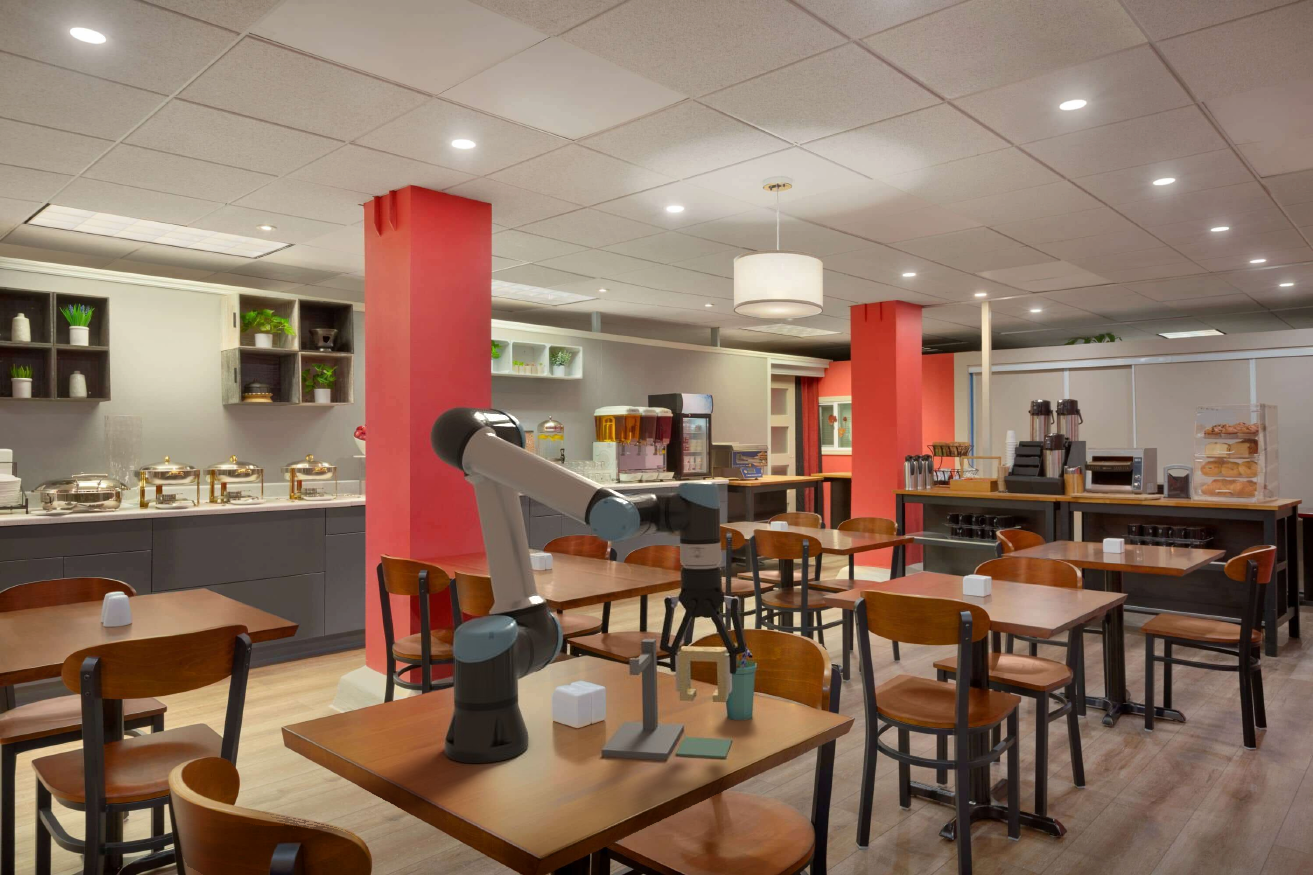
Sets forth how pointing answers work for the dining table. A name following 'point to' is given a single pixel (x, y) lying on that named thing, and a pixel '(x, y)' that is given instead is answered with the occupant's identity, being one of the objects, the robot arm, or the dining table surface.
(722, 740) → the mat
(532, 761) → the dining table surface
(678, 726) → the stand
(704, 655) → the c link
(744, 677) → the cup
